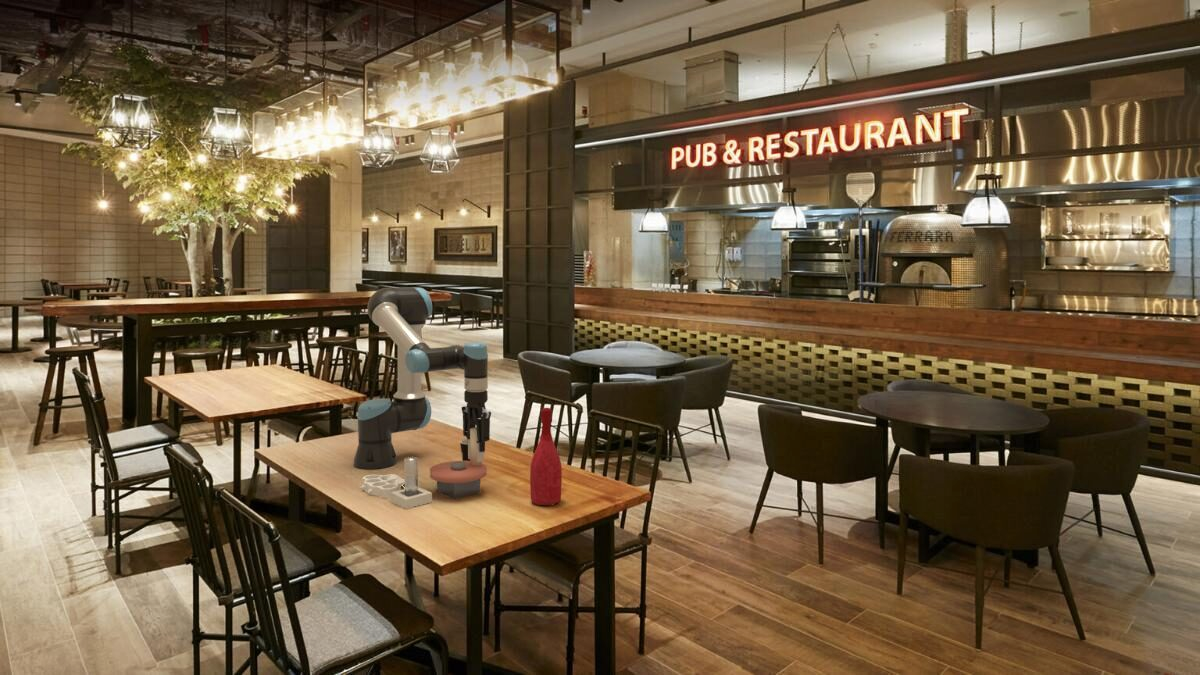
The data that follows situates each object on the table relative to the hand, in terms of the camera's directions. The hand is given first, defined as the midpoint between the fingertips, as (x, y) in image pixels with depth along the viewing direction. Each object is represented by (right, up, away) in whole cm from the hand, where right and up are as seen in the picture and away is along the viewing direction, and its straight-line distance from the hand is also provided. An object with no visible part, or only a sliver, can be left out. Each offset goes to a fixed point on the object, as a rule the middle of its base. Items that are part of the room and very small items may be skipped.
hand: (476, 459), depth 237 cm
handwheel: (-5, -4, -5) cm, 8 cm away
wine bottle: (+24, -12, -12) cm, 29 cm away
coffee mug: (-5, -7, +24) cm, 26 cm away
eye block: (-18, -11, -14) cm, 25 cm away
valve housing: (-5, -10, -4) cm, 12 cm away
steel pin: (-18, -11, -14) cm, 25 cm away
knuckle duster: (-30, -10, -2) cm, 32 cm away
